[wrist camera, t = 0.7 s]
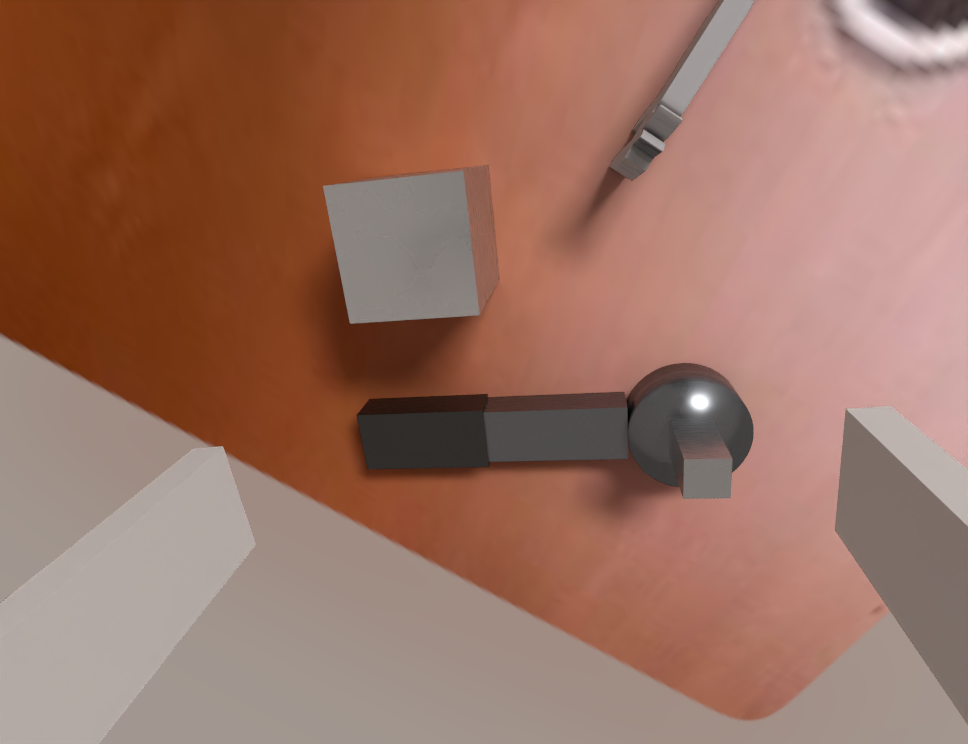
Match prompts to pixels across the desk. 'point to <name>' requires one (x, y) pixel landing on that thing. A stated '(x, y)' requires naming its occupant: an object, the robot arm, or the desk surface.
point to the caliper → (680, 88)
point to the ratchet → (575, 429)
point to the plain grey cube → (415, 244)
